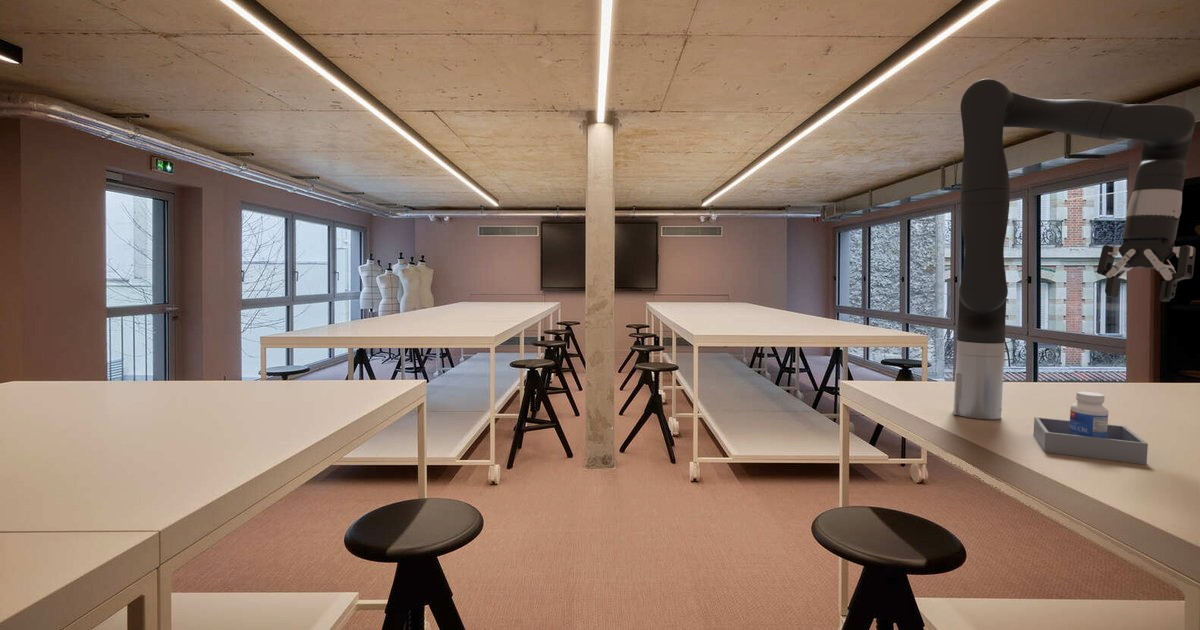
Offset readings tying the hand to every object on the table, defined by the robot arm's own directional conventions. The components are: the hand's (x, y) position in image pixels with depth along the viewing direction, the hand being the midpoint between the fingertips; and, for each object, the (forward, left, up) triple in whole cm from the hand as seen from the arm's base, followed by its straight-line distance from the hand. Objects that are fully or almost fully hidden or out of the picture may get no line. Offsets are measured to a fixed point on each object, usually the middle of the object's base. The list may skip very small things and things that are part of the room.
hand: (1137, 299), depth 114 cm
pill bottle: (-9, -13, -27) cm, 31 cm away
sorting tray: (-9, -13, -28) cm, 32 cm away
